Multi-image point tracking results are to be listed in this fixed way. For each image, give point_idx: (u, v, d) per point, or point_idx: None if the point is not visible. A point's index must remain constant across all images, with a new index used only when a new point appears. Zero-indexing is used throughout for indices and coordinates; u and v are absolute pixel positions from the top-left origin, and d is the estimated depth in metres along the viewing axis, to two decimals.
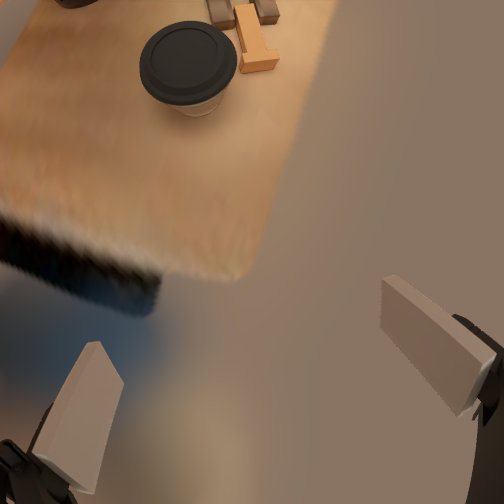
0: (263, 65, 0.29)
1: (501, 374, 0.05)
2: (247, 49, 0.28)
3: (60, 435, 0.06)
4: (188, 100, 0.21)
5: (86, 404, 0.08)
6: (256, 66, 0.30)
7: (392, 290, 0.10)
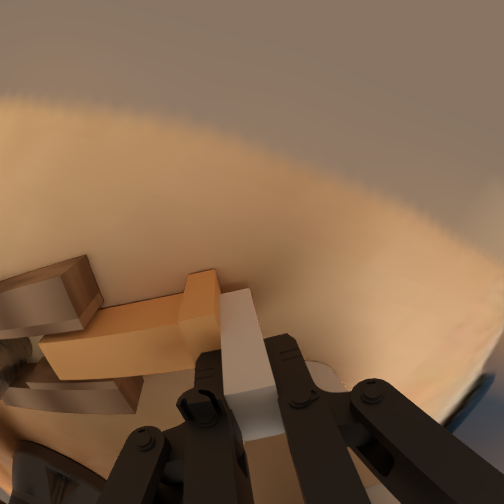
0: None
1: (283, 420, 0.06)
2: (182, 367, 0.12)
3: None
4: None
5: None
6: None
7: (236, 303, 0.12)
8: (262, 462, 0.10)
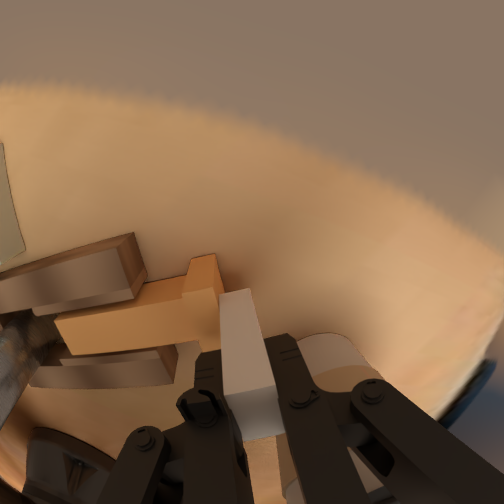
0: None
1: (283, 420, 0.06)
2: (184, 339, 0.14)
3: None
4: None
5: None
6: None
7: (236, 303, 0.12)
8: None
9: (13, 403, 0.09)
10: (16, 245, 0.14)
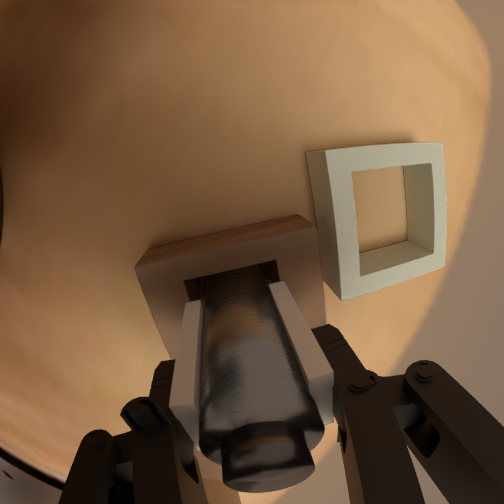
0: None
1: (341, 404, 0.06)
2: None
3: (197, 382, 0.08)
4: None
5: None
6: None
7: (272, 296, 0.12)
8: (223, 501, 0.16)
9: None
10: None
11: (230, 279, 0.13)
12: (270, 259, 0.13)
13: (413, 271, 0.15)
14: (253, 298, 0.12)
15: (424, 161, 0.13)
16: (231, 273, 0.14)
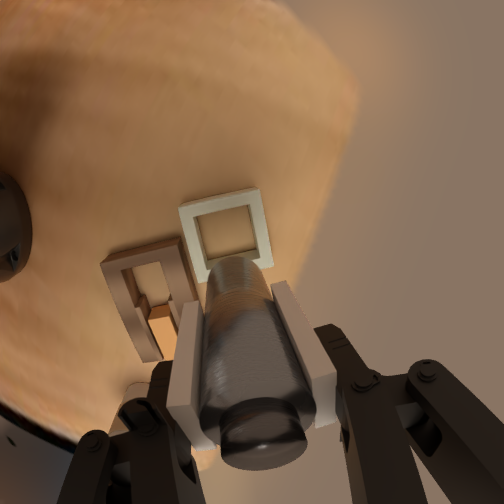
0: None
1: (344, 403, 0.06)
2: None
3: (194, 383, 0.08)
4: None
5: (201, 356, 0.10)
6: None
7: (274, 296, 0.12)
8: None
9: None
10: None
11: (229, 275, 0.14)
12: (157, 260, 0.27)
13: None
14: (251, 291, 0.12)
15: (243, 204, 0.26)
16: (231, 270, 0.15)
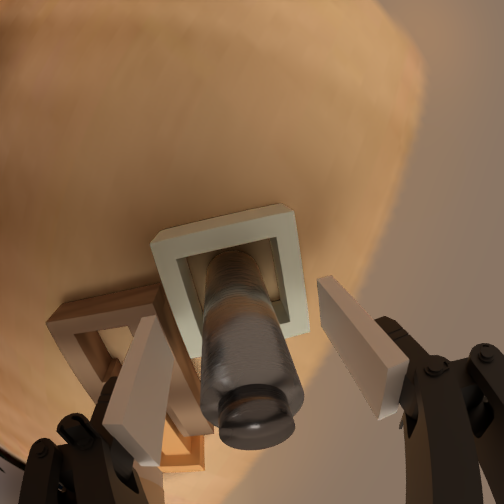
0: None
1: (417, 386, 0.06)
2: (162, 450, 0.20)
3: (132, 403, 0.07)
4: None
5: (150, 373, 0.10)
6: None
7: (324, 291, 0.12)
8: None
9: None
10: None
11: (227, 269, 0.15)
12: (123, 325, 0.16)
13: None
14: (247, 285, 0.13)
15: (265, 236, 0.15)
16: (228, 264, 0.16)
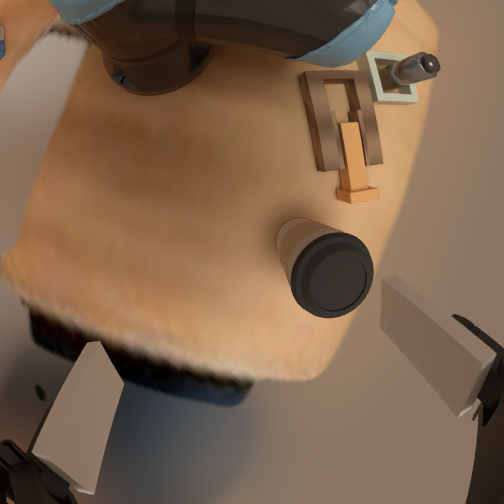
0: None
1: (501, 374, 0.05)
2: (351, 182, 0.34)
3: (60, 435, 0.06)
4: (334, 317, 0.28)
5: (86, 404, 0.08)
6: None
7: (392, 290, 0.10)
8: None
9: (410, 77, 0.25)
10: (374, 103, 0.33)
11: None
12: (351, 77, 0.30)
13: (404, 98, 0.31)
14: None
15: (400, 60, 0.29)
16: None
